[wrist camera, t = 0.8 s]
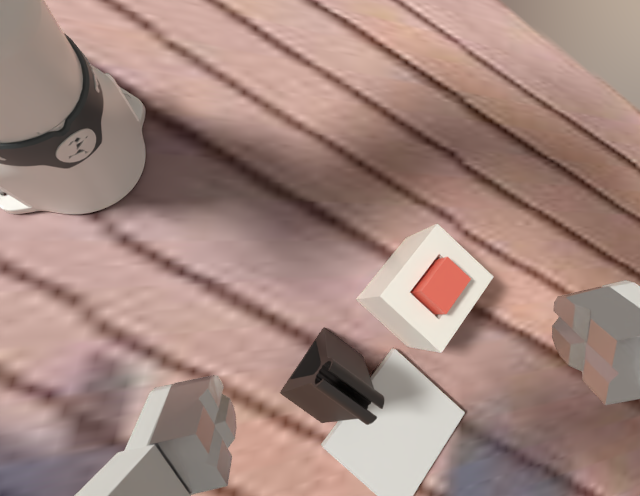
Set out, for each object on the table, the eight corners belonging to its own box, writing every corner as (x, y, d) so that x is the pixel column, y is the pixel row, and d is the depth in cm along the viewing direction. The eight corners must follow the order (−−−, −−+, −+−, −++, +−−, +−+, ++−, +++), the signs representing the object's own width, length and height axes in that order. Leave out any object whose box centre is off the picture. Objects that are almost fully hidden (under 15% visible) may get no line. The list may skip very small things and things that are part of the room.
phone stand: (320, 422, 43) (352, 461, 31) (279, 392, 42) (296, 420, 31) (362, 355, 45) (405, 369, 34) (323, 327, 45) (354, 331, 33)
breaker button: (408, 292, 41) (421, 291, 38) (433, 260, 42) (447, 256, 39) (431, 314, 41) (446, 314, 38) (455, 281, 43) (471, 279, 40)
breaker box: (355, 299, 46) (379, 296, 39) (405, 237, 49) (437, 223, 42) (407, 346, 47) (441, 352, 39) (453, 282, 50) (493, 276, 42)
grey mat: (320, 444, 42) (322, 447, 41) (391, 348, 46) (395, 349, 45) (396, 511, 43) (400, 515, 42) (460, 410, 47) (465, 412, 46)
